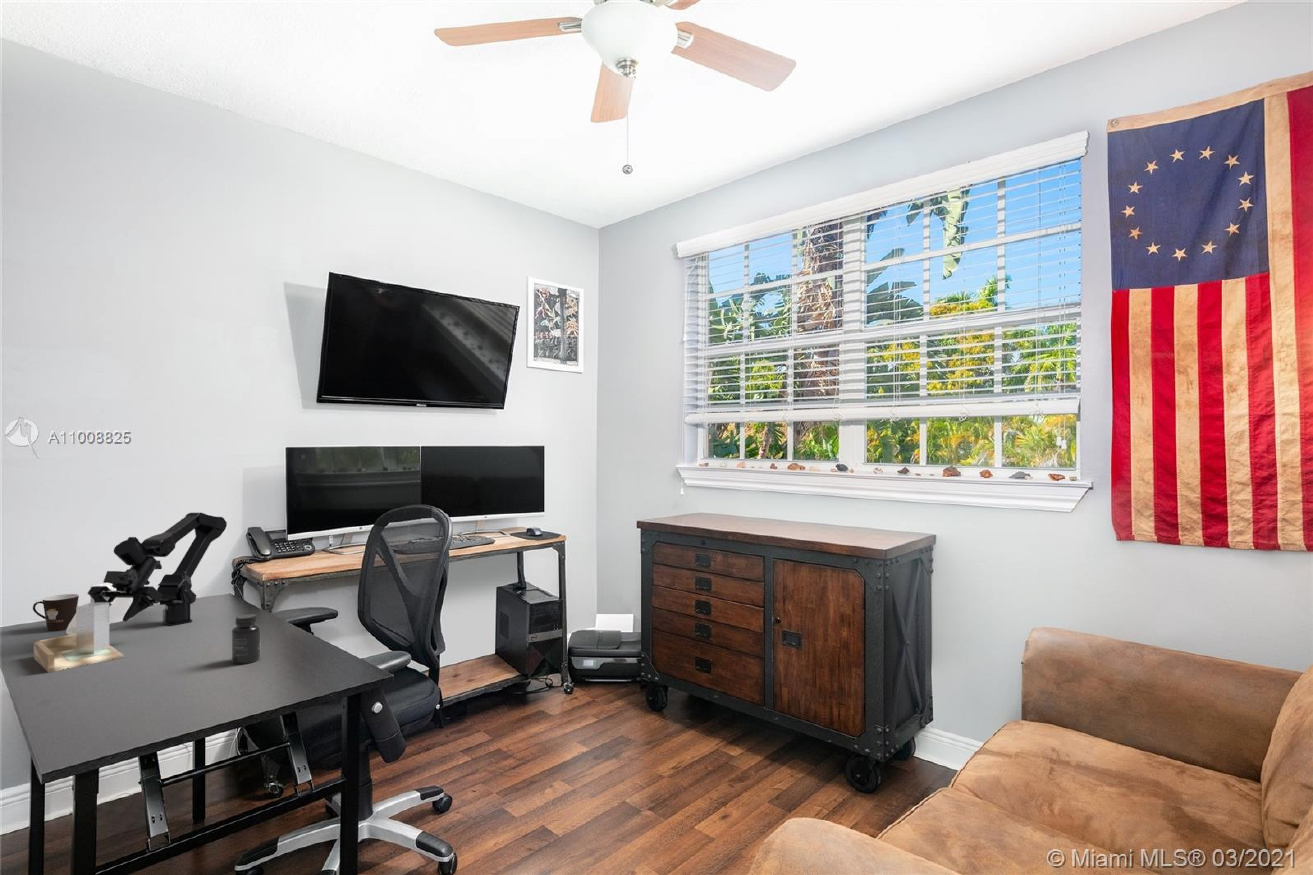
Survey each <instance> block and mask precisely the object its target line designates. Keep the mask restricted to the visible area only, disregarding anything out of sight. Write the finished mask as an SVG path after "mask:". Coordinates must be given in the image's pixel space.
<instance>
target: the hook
mask: <svg viewBox="0 0 1313 875" xmlns="http://www.w3.org/2000/svg"><path fill="white" fill-rule="evenodd" d="M65 632H66V634H67V635H65V636H68V635H74V634H76V614H75V616H74V617H73V619H72V620H71V622H70V624H69V625H68V628H67V630H65Z"/></svg>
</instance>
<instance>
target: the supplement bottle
mask: <svg viewBox="0 0 1313 875" xmlns="http://www.w3.org/2000/svg"><path fill="white" fill-rule="evenodd" d="M257 622H258V621H257V614H254V613H253V614H251V613H250V614H241V615H238V616H236V617H235V623H234V624H235V627H233V629H232V630H231V636H230V638H231V647H230V648H231V655H230V656H231V663H232V664H233V665H234V664H235V665H243V664H251V663H253V662H257V661H259V660H260V658H261V657H262V656H261V654H262V651H261V650H262V649H261V648H262V644H261V643H262V641H261V640H262V638H261V635H262V632H261V631H262V630H261V626H260V625H259V624H257Z"/></svg>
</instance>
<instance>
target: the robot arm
mask: <svg viewBox="0 0 1313 875" xmlns="http://www.w3.org/2000/svg"><path fill="white" fill-rule="evenodd" d="M227 526H228V523H227V520H225V518H224V517H223V516H214V515H210V514H207V513H203V512H189V513H187V514H186V515H185V516H184V517H183V518H181V519H180V520H179V521H177V522H176V523H175V524H173V525H172V526H170V527H169V528H167V529H166V530H165V531H164V532H162V533H158V534H155V535H152V536H150V537H147V538H145V539H144V540H143V541H142V542H140V540H139V539H138V538H137V537H136V536H128V538H127V539H126V540H123V541H121V542H119V543H118V544H117V545H116V546H115V547H114V548H113V553H114V554H115V556H116V557H117V558H119V560H121V561H122V562H123V563H124V564H125V565H127V566H129V567H130V568H128V569H126V570H125V571H121V570H120V571H119V570H116V571H115V570H107V571H106V572H105V573H106V574H105V576H104V579H103V582H105V583H106V582H107V583H111V584H113V585H112V587H113V588H116V591H111V590H110V589H109V588H108V587H107V586H93V587H91V586H90V588H89V590H88V592H87V595H89V597H90V599H91V598H93V599H94V602H109V607H110V606H111V605H112V604H111V602H113V601H114V599H115V598H133V602H132V604H131V605H130V607H129V608H128V610H127V612H126V613H125V615H124V617H123V621H122V622H124V623H125V622H127V621H129V620H131V619H132V618H133V617H135V616H136V615H138V614H139V613H141V612H143V611H145V610H146V609H147V608H149V607H153V606H154V605H158V604H159V605H161V606H163V605H164V609H163V610H162V623H164V624H165V625H168V626H174V625H181V624H185V623H187V624H188V623H190V622H193V619H191V605H192V604H194V603H195V602H196V600H197V595H196V593H195V592H194V591H193V590H192V587H193V584H192V576H193V574H194V573H195V571H196V570H197V568H198V566H199V564H200V562H201V561H202V559H203V557H204V555H205V554H206V552H207V550H208V548H209V547H210V545H211V543H213V541H216V539H218V538H220V537H221V536H222V534H223V533H224V532H225V530H226V529H227ZM192 531H194V533H195V537H194V539H193V541H192V542H191V544H190V546H189V547H188V549H187V551H186V552H185V554H184V556H183V558H182V559H181V561H180V563H179V564H178V566H177V568H176V569H175V571H174V572H173V573H171V574H170V573H168V574H167V573H166V574H165V575H163V576H162V579H161V580H160V582H159V583H158V584H157V588H156V587H154V586H149V584H150V583H151V581H149V579H150V577H151V576H152V574H153V573H154V571H155V570H162V569H163V567H162V564H161V560H157V559H156V558H167V557H169V555H171V553H172V552H173V551H174V550H175V549H176V544H178V542H179V541H181V540H182V539H183V538H184V537H186V536H187V535H188V534H190V533H191V532H192ZM103 582H102V583H103Z"/></svg>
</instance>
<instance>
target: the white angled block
mask: <svg viewBox="0 0 1313 875" xmlns="http://www.w3.org/2000/svg"><path fill="white" fill-rule="evenodd" d="M112 585H113V584H111V583H107V582H106V583H105V582H102V583H100V584H94V585H90V588H91V587H93V586H107V587H108V588H109V589H110V590H111V591H116V588H113V587H112ZM92 602H94V599H93V598H91V597H90V603H92ZM132 602H133V598H115V599H114V601H113V602H111V604H112V605H111V606H110V607H109V625H111V623H112V624H115V623H120V622H124V621H123V617H124V615H125V613H126V612H127V610H128V608H129V607H130V605H131V604H132Z"/></svg>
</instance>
